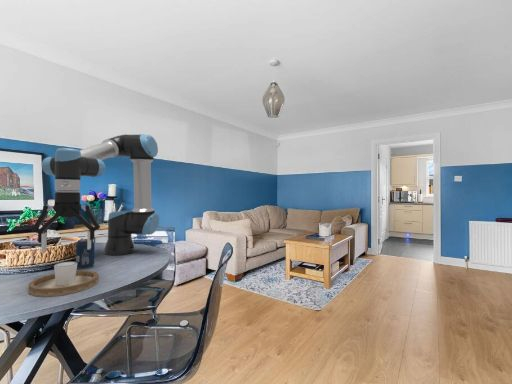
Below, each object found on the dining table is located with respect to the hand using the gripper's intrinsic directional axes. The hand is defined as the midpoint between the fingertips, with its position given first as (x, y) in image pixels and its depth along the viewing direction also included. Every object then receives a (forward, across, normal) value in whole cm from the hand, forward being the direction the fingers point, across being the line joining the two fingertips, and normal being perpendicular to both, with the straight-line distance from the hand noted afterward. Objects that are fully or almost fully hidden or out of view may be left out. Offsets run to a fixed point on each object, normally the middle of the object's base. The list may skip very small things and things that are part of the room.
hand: (67, 250), depth 95 cm
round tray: (+13, 0, 0) cm, 13 cm away
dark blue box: (+13, +2, +24) cm, 27 cm away
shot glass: (+12, 0, 0) cm, 12 cm away
